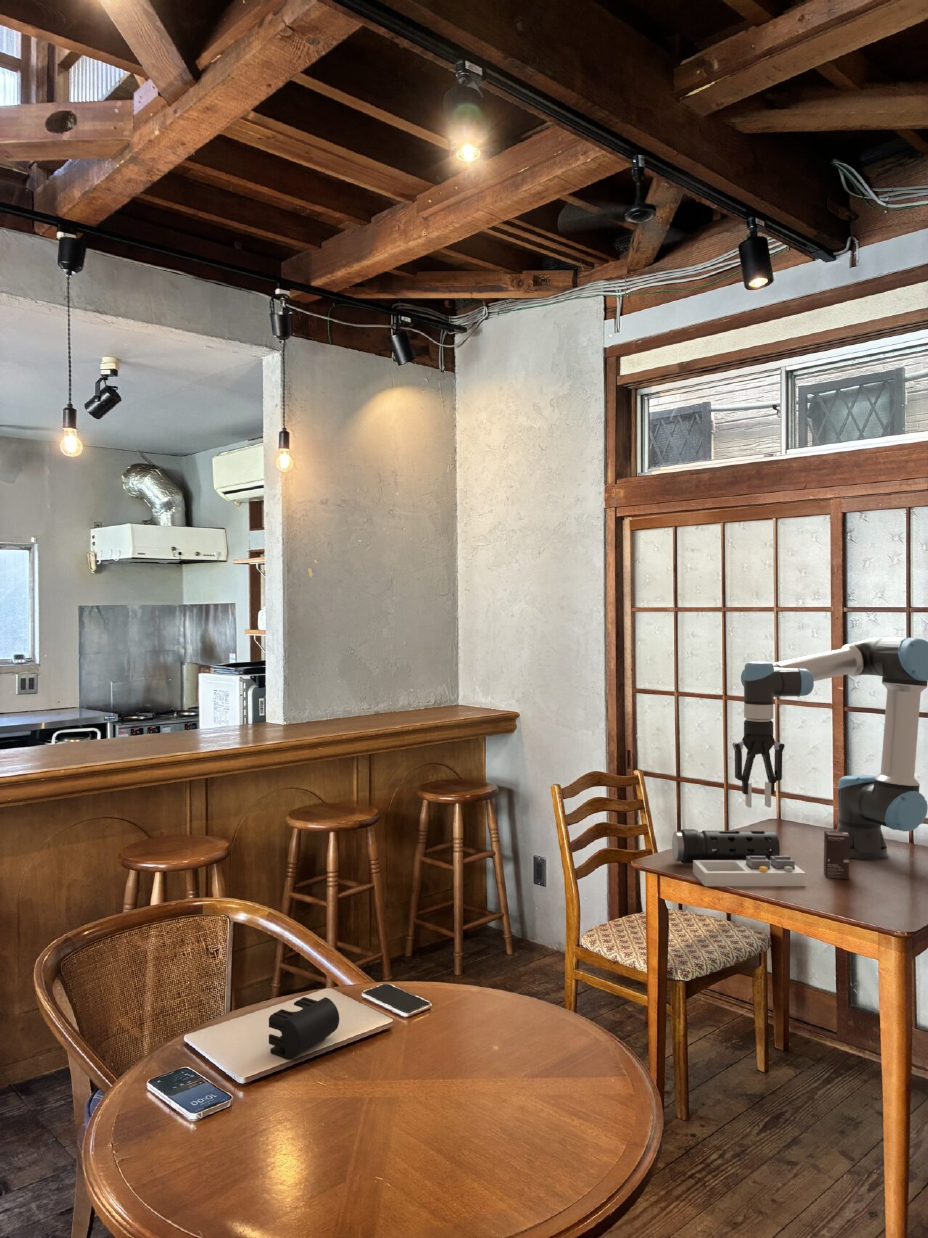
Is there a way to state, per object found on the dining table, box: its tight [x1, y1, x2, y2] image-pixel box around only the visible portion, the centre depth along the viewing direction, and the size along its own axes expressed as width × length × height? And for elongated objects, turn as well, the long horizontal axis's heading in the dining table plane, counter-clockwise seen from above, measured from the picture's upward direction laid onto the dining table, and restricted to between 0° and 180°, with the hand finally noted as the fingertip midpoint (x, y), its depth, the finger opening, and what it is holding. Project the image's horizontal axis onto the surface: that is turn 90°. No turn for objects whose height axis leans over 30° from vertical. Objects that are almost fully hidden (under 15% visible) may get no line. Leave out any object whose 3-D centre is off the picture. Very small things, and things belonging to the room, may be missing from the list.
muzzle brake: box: [671, 828, 781, 865], centre depth 254 cm, size 10×28×10 cm, turn 89°
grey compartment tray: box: [692, 860, 807, 887], centre depth 241 cm, size 26×12×4 cm, turn 90°
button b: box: [746, 856, 770, 869], centre depth 241 cm, size 5×5×4 cm
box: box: [823, 830, 850, 880], centre depth 243 cm, size 6×4×12 cm
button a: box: [770, 855, 796, 869], centre depth 241 cm, size 5×5×4 cm
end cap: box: [268, 996, 340, 1061], centre depth 148 cm, size 10×7×7 cm
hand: (758, 806), depth 241 cm, fingers open, 4 cm apart
